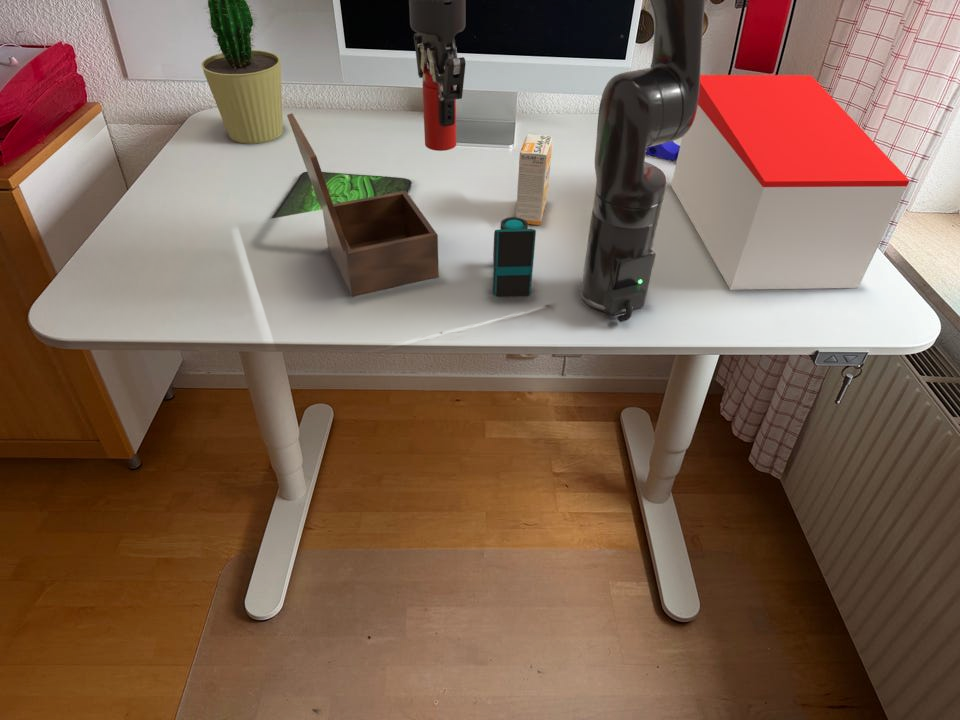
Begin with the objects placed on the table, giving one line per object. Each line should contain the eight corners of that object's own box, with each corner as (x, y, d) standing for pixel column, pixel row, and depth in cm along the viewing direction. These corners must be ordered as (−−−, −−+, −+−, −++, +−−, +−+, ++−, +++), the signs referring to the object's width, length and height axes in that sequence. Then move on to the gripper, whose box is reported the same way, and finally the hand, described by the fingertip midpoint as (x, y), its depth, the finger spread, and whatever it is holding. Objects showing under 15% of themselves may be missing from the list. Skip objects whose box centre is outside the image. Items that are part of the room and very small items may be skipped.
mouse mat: (382, 258, 109) (381, 253, 108) (252, 248, 111) (250, 242, 110) (414, 182, 129) (413, 177, 129) (303, 174, 131) (302, 169, 130)
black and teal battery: (527, 196, 101) (536, 231, 93) (522, 263, 109) (530, 300, 101) (490, 196, 100) (496, 231, 93) (488, 264, 108) (493, 301, 101)
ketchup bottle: (461, 147, 101) (461, 62, 93) (431, 153, 100) (428, 67, 91) (449, 135, 104) (448, 52, 96) (420, 140, 103) (416, 56, 95)
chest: (408, 235, 114) (405, 190, 109) (439, 281, 104) (437, 234, 99) (328, 251, 110) (321, 205, 105) (352, 301, 100) (346, 253, 95)
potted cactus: (293, 145, 141) (265, -15, 121) (216, 150, 138) (175, -13, 118) (292, 116, 152) (267, -34, 132) (221, 121, 149) (184, -32, 129)
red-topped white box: (773, 184, 131) (810, 74, 118) (858, 287, 105) (918, 162, 92) (669, 184, 130) (694, 74, 117) (729, 289, 104) (770, 163, 90)
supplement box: (541, 226, 118) (548, 155, 109) (514, 223, 118) (518, 152, 110) (547, 204, 124) (554, 135, 115) (521, 201, 124) (526, 132, 116)
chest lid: (292, 112, 94) (286, 114, 94) (316, 155, 84) (310, 157, 84) (323, 202, 104) (318, 203, 104) (348, 249, 94) (343, 251, 94)
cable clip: (645, 153, 141) (651, 125, 137) (653, 146, 144) (659, 118, 140) (701, 168, 136) (708, 140, 132) (708, 160, 139) (715, 132, 135)
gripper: (392, -20, 92) (400, 105, 103) (429, 6, 82) (434, 140, 93) (443, -24, 94) (445, 98, 105) (485, 0, 84) (483, 132, 96)
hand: (440, 117), depth 99 cm, fingers closed on ketchup bottle, 5 cm apart
